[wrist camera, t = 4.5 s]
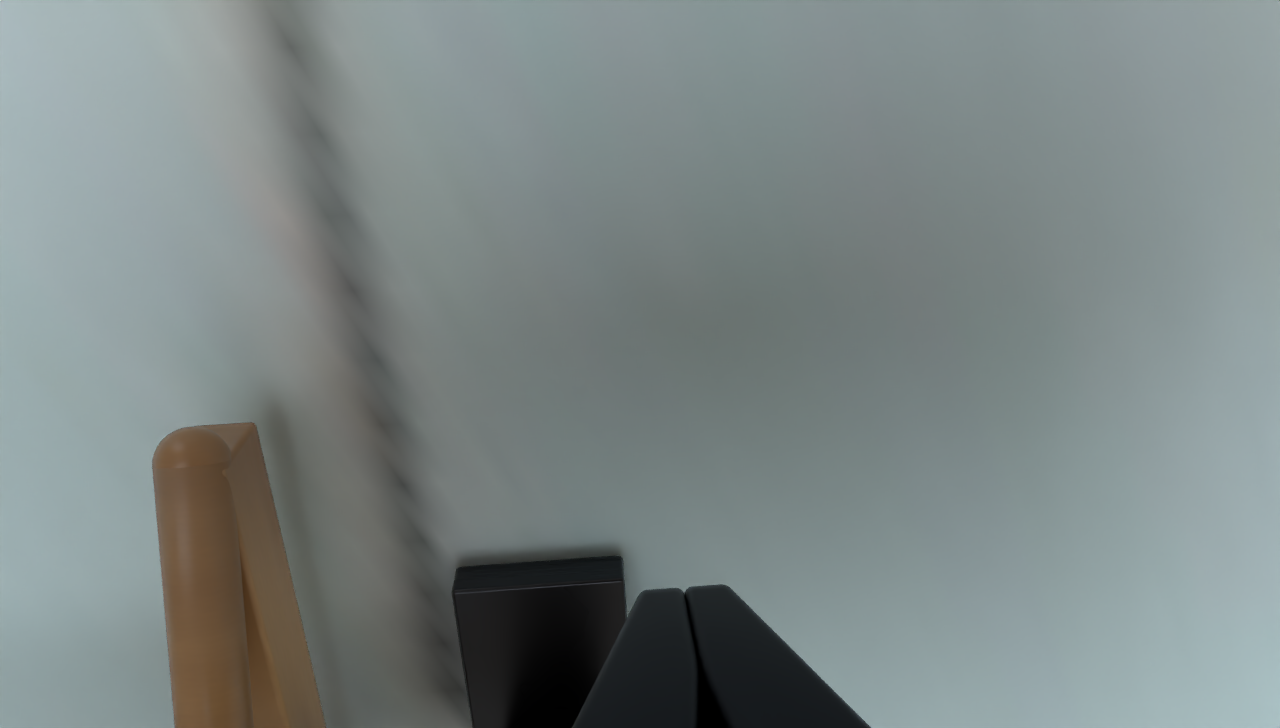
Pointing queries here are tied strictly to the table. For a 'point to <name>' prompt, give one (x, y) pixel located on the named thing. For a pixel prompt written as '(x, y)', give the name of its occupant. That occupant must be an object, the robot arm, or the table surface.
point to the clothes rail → (536, 637)
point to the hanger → (228, 586)
